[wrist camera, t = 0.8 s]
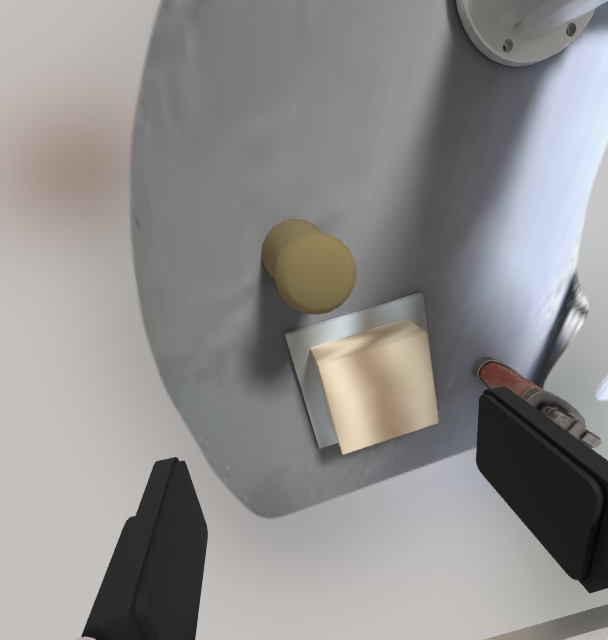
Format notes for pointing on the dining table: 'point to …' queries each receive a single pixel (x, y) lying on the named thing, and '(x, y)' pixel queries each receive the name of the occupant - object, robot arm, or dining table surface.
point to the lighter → (535, 398)
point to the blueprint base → (367, 374)
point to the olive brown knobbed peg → (308, 266)
